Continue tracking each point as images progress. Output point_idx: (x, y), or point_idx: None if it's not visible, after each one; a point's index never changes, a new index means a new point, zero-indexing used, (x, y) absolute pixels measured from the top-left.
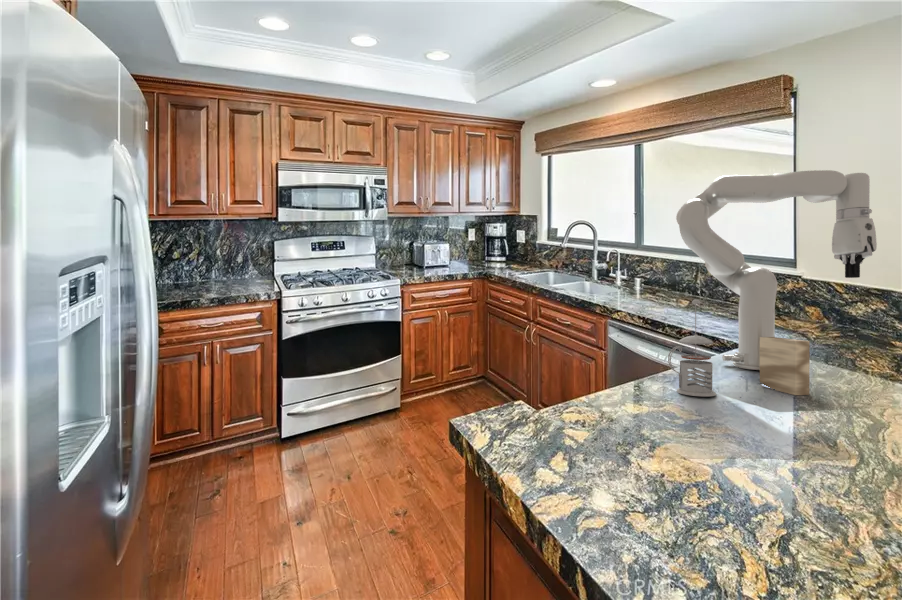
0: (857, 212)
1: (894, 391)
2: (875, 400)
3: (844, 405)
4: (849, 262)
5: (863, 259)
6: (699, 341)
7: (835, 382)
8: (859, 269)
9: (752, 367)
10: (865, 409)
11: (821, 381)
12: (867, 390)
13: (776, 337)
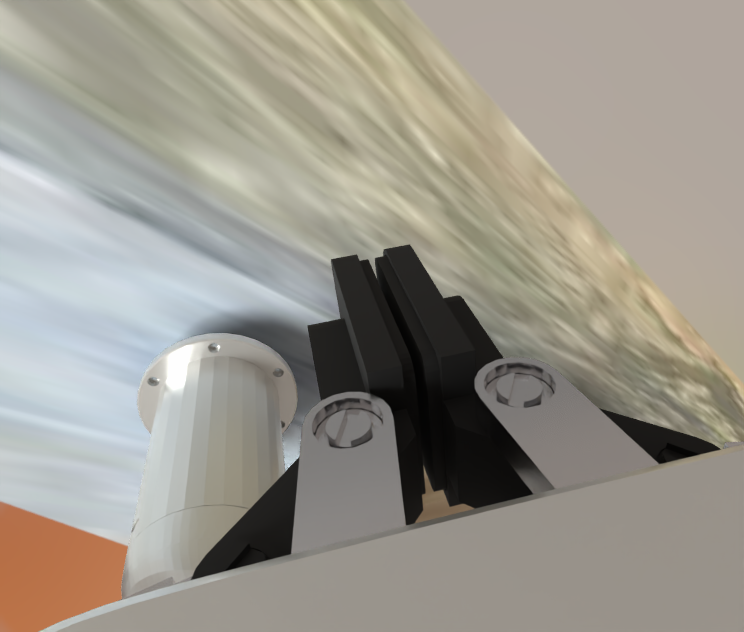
0: None
1: (477, 83)
2: (574, 253)
3: (599, 355)
4: (421, 504)
5: (639, 424)
6: None
7: (304, 164)
8: (480, 329)
9: (282, 431)
10: (636, 338)
11: (285, 203)
12: (453, 166)
13: (430, 504)
